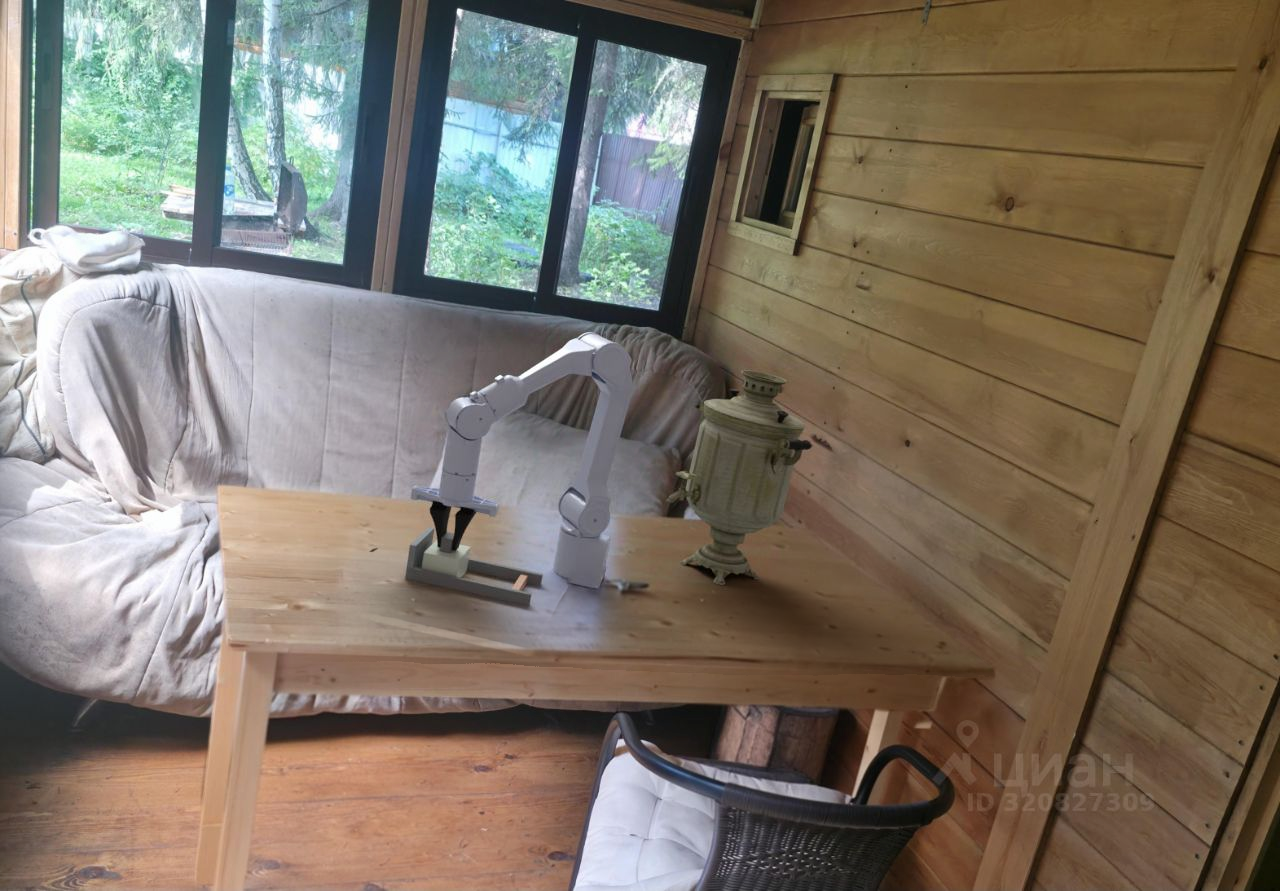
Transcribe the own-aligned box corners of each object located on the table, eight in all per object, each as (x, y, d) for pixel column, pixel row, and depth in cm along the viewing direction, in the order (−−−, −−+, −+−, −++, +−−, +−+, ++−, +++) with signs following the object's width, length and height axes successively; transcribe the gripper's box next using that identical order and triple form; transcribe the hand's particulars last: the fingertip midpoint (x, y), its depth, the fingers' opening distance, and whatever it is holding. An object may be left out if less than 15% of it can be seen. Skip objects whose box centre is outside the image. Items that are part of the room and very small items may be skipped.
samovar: (621, 537, 209) (658, 349, 199) (735, 545, 218) (775, 365, 209) (670, 597, 182) (715, 383, 172) (797, 603, 191) (847, 400, 181)
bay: (541, 586, 175) (547, 550, 174) (526, 612, 164) (533, 574, 162) (425, 561, 177) (430, 524, 175) (402, 585, 165) (407, 546, 163)
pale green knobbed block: (466, 571, 174) (472, 533, 172) (455, 585, 167) (461, 546, 165) (433, 563, 174) (438, 525, 172) (420, 577, 167) (426, 538, 165)
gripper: (409, 467, 163) (398, 545, 166) (496, 486, 162) (483, 564, 165) (423, 457, 169) (412, 532, 173) (506, 475, 168) (494, 550, 172)
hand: (448, 547), depth 169 cm, fingers closed on pale green knobbed block, 2 cm apart
